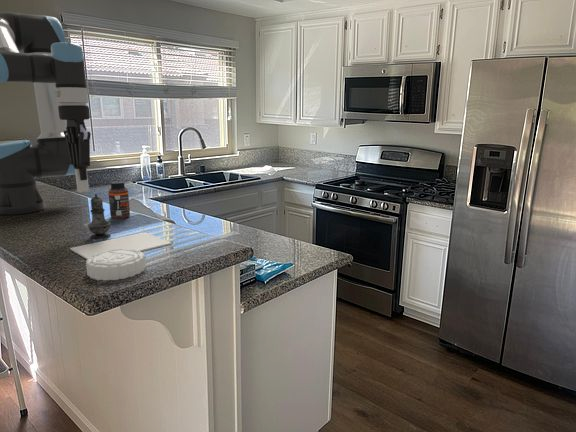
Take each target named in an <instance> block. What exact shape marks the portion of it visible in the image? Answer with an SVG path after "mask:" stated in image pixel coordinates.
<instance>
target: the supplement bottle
mask: <svg viewBox="0 0 576 432" xmlns="http://www.w3.org/2000/svg"><path fill="white" fill-rule="evenodd" d="M108 203H109V213H110V214H109V215H110V217H111V218H112V219H126V218H129V217H130V216H131V212H130V209H131V208H130V197H129V189H127V187H125V181H119V180H118V181H112V182H110V188H109V189H108Z"/></svg>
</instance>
